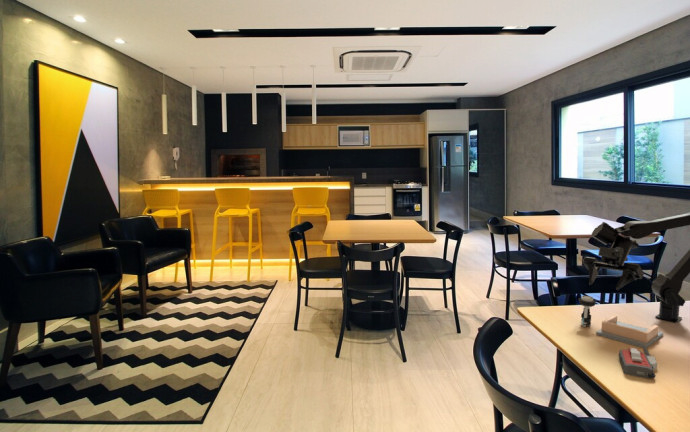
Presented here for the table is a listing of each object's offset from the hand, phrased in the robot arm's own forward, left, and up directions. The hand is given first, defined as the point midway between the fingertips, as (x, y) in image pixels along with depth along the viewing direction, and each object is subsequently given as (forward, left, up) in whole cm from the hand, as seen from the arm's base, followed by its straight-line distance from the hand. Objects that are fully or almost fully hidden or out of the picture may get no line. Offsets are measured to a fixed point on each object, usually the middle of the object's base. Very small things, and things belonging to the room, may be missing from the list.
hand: (603, 286), depth 151 cm
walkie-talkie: (+26, +20, -14) cm, 36 cm away
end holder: (+5, +11, -13) cm, 18 cm away
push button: (+7, -2, -13) cm, 15 cm away
